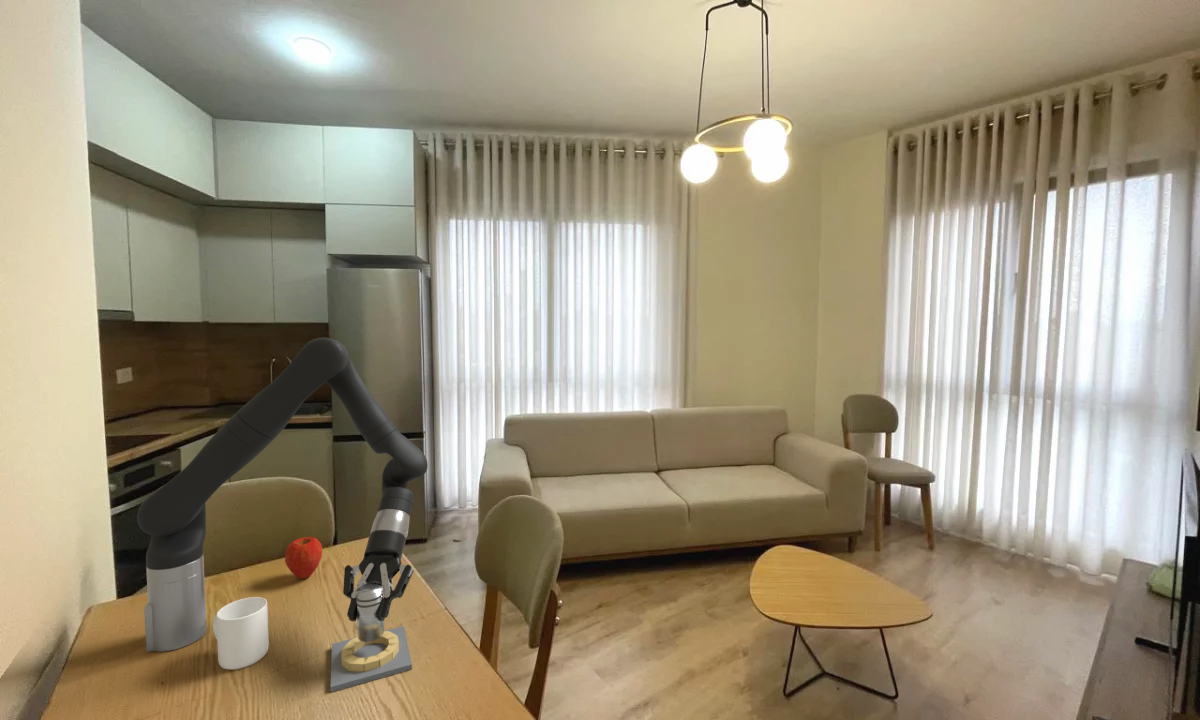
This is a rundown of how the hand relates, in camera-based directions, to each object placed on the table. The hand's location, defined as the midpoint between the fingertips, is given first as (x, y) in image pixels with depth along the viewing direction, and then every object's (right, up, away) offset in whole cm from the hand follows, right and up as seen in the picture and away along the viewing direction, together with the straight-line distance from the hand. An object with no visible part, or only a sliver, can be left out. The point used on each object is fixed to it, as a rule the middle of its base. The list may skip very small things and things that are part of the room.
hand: (366, 619), depth 99 cm
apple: (-32, -7, +34) cm, 47 cm away
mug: (-28, -9, +3) cm, 29 cm away
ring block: (0, -9, +2) cm, 9 cm away
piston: (0, -4, +2) cm, 5 cm away
